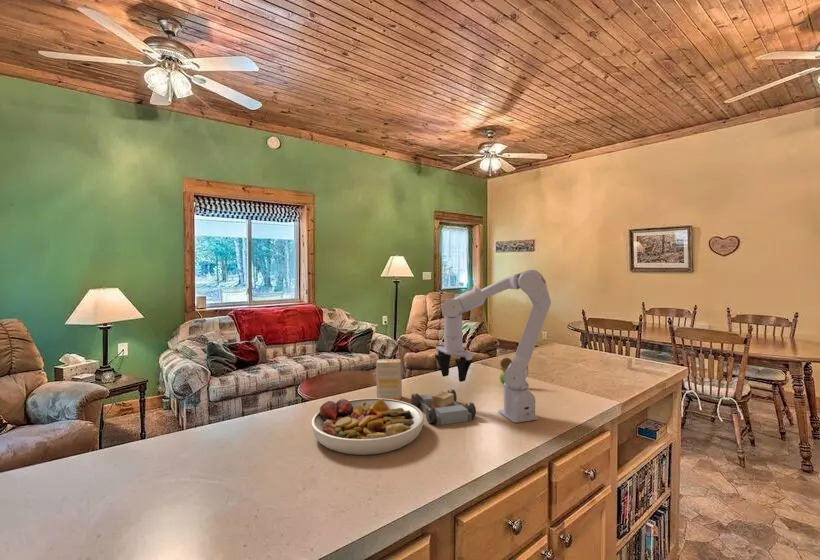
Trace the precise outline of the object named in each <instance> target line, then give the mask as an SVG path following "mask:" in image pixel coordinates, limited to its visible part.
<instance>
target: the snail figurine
mask: <svg viewBox="0 0 820 560" xmlns="http://www.w3.org/2000/svg"><path fill="white" fill-rule="evenodd" d="M513 358H514V356H513V357H512V359H511V358H509V357H504V358H501V360H500V362H499V364H500V371H501V373H500V375H499V380H500V383H501V384H503V385H504V383H505V382H504V379H503V375H504V372H505V371H506V370H507V368H508V366H509V364H510V363H511V362H512V360H513Z"/></svg>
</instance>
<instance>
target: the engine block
mask: <svg viewBox="0 0 820 560" xmlns="http://www.w3.org/2000/svg"><path fill="white" fill-rule="evenodd" d="M436 393H437V394H434V393H433V394H434V395H432V408H434V409H435V408H440V407H447V406H454V394H452V393H447V391H443V390H441V391H439V392H436Z"/></svg>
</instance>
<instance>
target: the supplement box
mask: <svg viewBox="0 0 820 560" xmlns="http://www.w3.org/2000/svg"><path fill="white" fill-rule="evenodd" d="M375 368H376V369H375V371H376V372H375V373H376V375H375V377H376V378H375V379H376V398H383V399H393V400H399V401H402V400H401V399H402V396H403V392H402V391H403V390H402V389H403V388H402V385H403V384H402V383H403V382H402V359H401V358H400V359H399V358H397V359H396V358H391V359H390V358H387V359H386V358H385V359H382V358H379V359H377V360H376V362H375Z"/></svg>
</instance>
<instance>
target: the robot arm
mask: <svg viewBox="0 0 820 560" xmlns="http://www.w3.org/2000/svg"><path fill="white" fill-rule="evenodd" d="M510 289H511V290H517V291H518V290H519V289H520V290H521V291H522V292H524V293H525V294H526V295H527V296H528V298H529V300H530V302H531V303H532V308H531V310H530V312H529V316H528V318H527V321H526V324H525V326H524V329H523V332H522V335H521V337H520V339H519V343H518V346H517V348H516V351H515V353H514V356H513V357H514V358H513V357H512V359H511V360H512V362H511V363H510V364H509V366H508V368H507V370H506V371H505V372H504V375H503V379H504V382H505V383H504V384H503V409H499V410H497V412H498V413H499V414H501V415H502V416H504V417H505V418H506V419H508V420H510V421H511V422H513V423H522V422H529V421H536V420H538V419H539V418H538V417H537V416H536V398H535V397H536V396H535V395H534V394H533V393H532V392H531V390H530V386H529V385H530V384H529V383H528V382H527V380H526V379H527V377H528V375H529V363H530V361H531V359H532V355H533V352H534V349H535V348H536V344H537V342H538V339H539V337H540V334H541V331H542V328H543V326H544V324H545V320H546V317H547V315H548V312H549V309H550V308H551V304H552V303H551V301H552V300H551V297H550V292H549V290H548V285H547V281H546V279H545V278H544V276H543V274H541V273H540V271H538V270H536V269H528V270H525V271H523V272H519V273H515V274H512V275H508V276H506V277H503V278H502V279H499V280H498V281H496V282H493V283H492V284H490V285H488V286H485V287H484V288H480V287H476V286H475V287H472V286H471V287H469V288H467V290H466V291H464V292H462V293H460V294H458V293H456V294H455V295H454V297H452V298H447V299H446V300H445V301H443V303H442V306H441V310H442V314H443V315H444V316H443V317H444V319H443V320H444V322H443V323H444V324H443V327H444V328H443V331H444V332H443V335H444V336H443V337H444V340H443V341H444V343H443V344H444V345H443V346H442V345H438V346H435V353H436V354H435V356H434V357H435V359H436V361H437V363H438V364H439V368H440V371H441V376H442V377H447V376H449V373H450V361H451V357H456V358H458V359H455V363H456V368H457V371H458V374H457V375H458V381H459V382H460V383H462V382H465V381H466V380H467V379H466V378H467V374H468V371H469V368H470V366H471V365H472V363H473V361H474V359H473V352H470V351H467V350H465V348H464V347H463V318H462V317H463V313H465V312H469V311H471V310H474V309H475V308H478V307H480V306H482V305H484V304H485V302H486V299H487V298H489V297H491V296H494V295H497V294H499V293H502V292H504V291H506V290H510Z"/></svg>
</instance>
